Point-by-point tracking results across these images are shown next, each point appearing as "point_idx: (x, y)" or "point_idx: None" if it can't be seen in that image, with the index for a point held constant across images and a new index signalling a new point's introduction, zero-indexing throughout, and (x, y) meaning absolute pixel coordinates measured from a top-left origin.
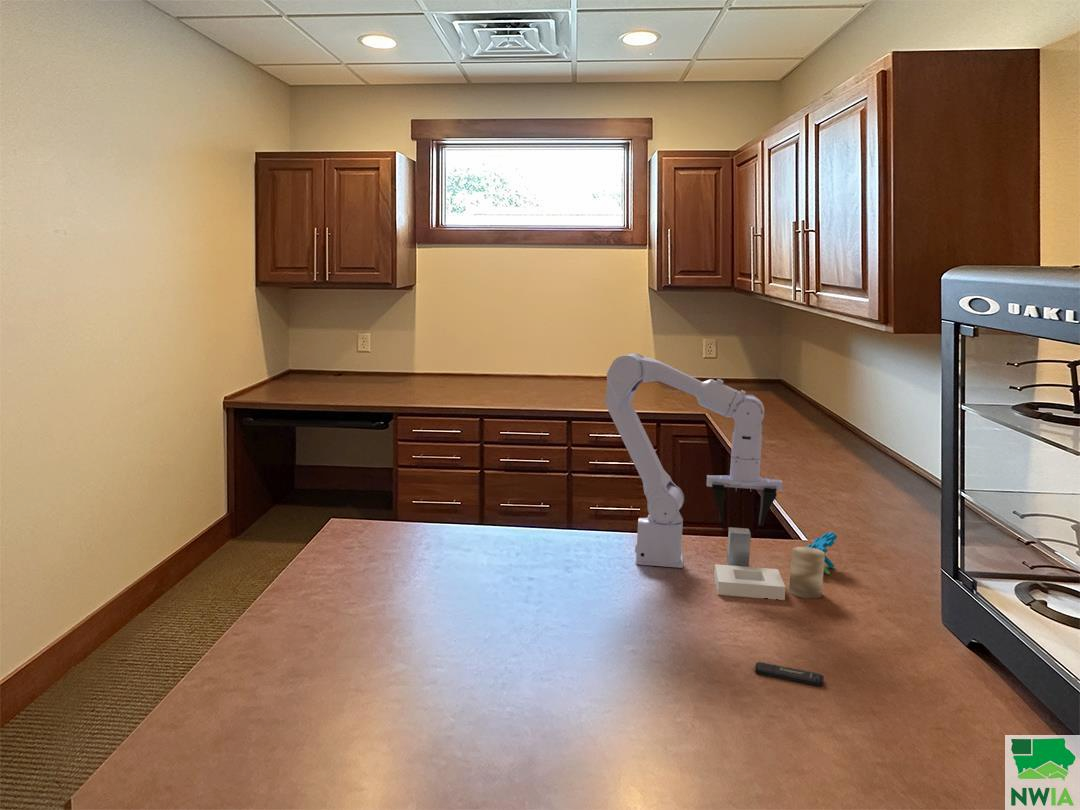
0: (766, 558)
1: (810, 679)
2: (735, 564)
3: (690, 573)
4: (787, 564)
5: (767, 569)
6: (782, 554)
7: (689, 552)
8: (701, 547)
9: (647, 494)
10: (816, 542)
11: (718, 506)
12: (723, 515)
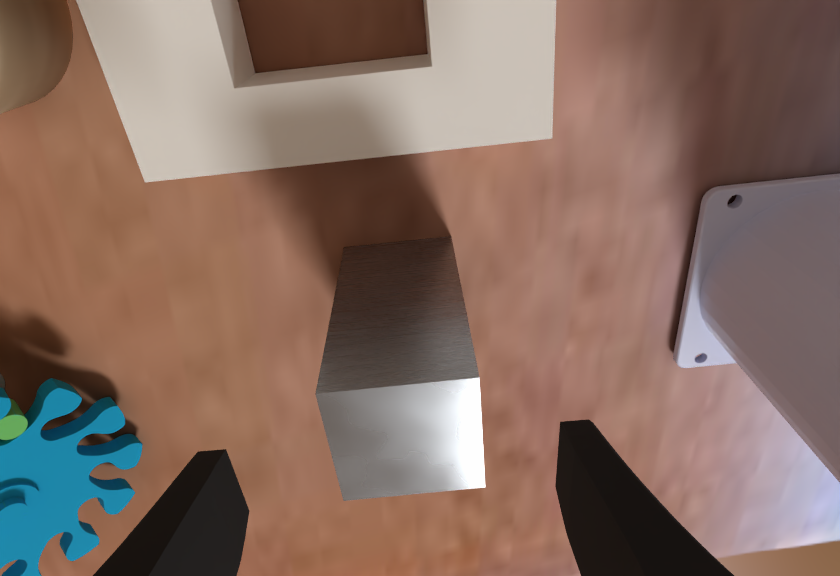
0: (279, 454)
1: None
2: (415, 259)
3: (668, 126)
4: (178, 415)
5: (205, 150)
6: None
7: (621, 422)
8: None
9: None
10: (10, 553)
11: (714, 558)
12: (596, 474)
